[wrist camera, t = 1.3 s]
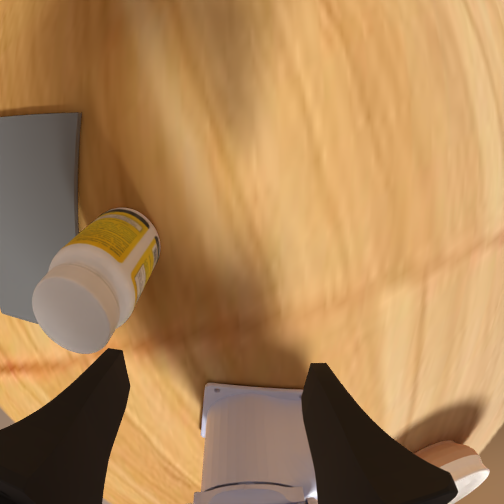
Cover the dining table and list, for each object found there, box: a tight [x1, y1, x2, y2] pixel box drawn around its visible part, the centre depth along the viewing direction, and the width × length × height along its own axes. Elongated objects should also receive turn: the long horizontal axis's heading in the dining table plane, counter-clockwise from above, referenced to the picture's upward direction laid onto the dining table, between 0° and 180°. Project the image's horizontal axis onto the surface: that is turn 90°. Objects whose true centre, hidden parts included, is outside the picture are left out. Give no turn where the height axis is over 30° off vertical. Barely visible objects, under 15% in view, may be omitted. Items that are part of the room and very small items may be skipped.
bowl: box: [414, 440, 490, 504], centre depth 30 cm, size 16×16×8 cm
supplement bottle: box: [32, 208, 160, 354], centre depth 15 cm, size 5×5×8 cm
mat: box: [0, 113, 82, 324], centre depth 18 cm, size 9×16×1 cm, turn 171°
